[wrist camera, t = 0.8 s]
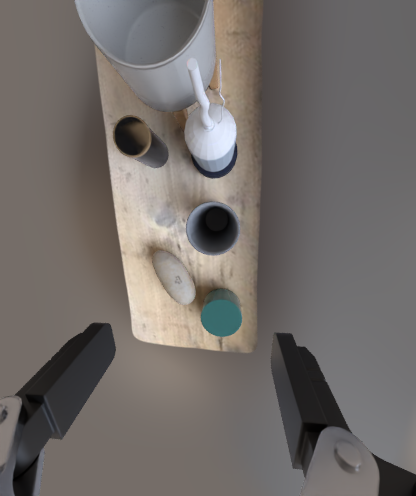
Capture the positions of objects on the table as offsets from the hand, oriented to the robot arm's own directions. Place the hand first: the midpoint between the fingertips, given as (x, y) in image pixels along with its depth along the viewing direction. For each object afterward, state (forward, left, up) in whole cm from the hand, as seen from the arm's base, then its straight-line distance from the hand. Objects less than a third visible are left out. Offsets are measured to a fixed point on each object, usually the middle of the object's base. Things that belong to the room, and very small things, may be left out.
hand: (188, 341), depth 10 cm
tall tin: (-19, +3, -32) cm, 37 cm away
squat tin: (+12, -10, -32) cm, 35 cm away
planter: (-23, +14, -32) cm, 42 cm away
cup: (-2, +3, -32) cm, 32 cm away
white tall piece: (-11, +11, -32) cm, 35 cm away
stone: (0, -11, -32) cm, 34 cm away
